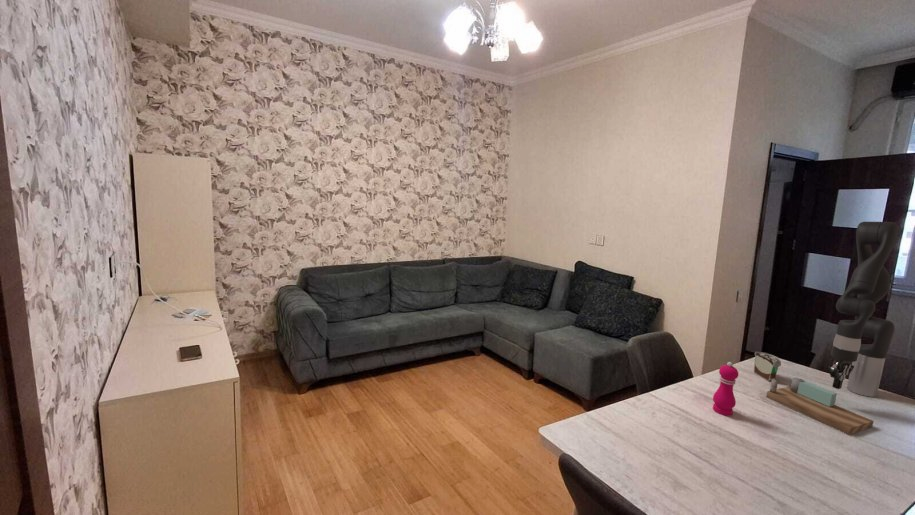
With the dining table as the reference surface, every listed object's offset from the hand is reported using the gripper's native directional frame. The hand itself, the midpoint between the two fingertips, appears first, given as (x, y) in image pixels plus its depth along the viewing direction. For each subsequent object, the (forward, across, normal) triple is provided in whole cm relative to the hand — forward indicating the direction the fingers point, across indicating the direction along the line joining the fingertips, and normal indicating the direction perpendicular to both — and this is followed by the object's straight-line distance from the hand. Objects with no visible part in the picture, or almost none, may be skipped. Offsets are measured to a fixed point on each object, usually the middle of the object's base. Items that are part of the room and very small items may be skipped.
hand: (836, 387), depth 159 cm
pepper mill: (+9, +50, -10) cm, 51 cm away
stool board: (+8, +13, +1) cm, 15 cm away
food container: (+8, 0, -25) cm, 26 cm away
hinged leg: (+5, +9, -4) cm, 10 cm away
